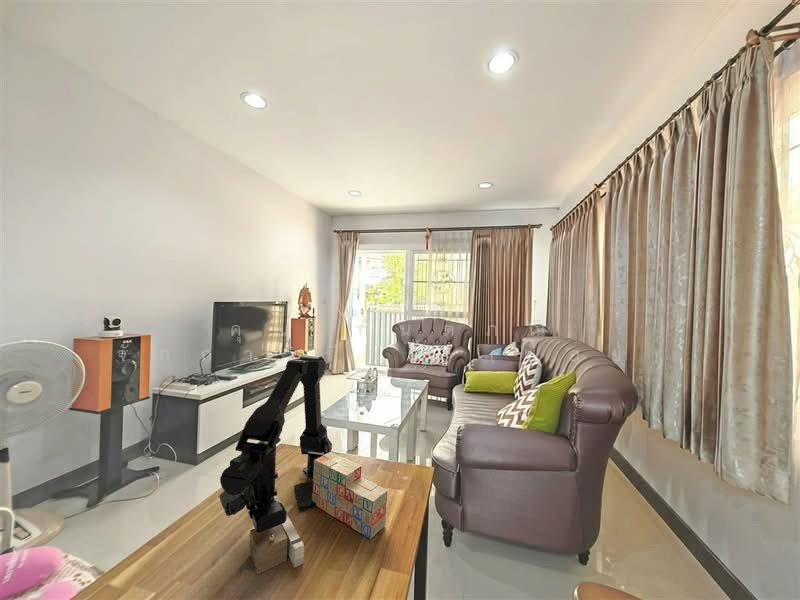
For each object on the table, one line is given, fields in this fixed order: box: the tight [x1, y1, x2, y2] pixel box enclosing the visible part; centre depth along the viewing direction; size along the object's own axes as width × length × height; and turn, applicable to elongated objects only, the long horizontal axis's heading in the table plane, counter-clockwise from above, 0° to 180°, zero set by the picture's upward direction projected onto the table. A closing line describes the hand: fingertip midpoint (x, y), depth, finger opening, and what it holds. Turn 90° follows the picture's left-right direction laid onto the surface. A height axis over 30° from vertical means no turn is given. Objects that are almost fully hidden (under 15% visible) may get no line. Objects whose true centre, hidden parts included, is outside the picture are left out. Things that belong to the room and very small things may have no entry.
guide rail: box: [274, 495, 305, 568], centre depth 77 cm, size 24×2×4 cm, turn 37°
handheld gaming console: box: [294, 479, 317, 512], centre depth 91 cm, size 12×7×10 cm
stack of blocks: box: [312, 451, 389, 540], centre depth 84 cm, size 21×6×12 cm, turn 56°
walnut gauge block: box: [249, 525, 288, 575], centre depth 70 cm, size 7×6×6 cm
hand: (260, 534), depth 74 cm, fingers closed
